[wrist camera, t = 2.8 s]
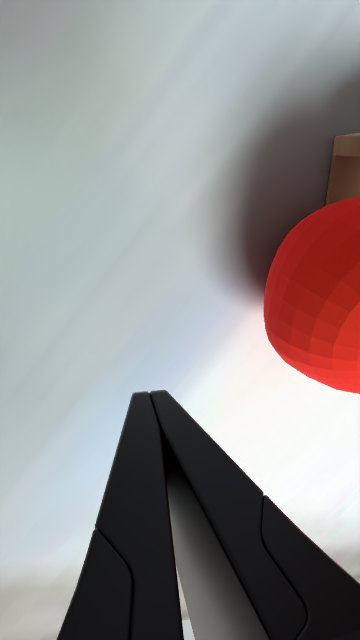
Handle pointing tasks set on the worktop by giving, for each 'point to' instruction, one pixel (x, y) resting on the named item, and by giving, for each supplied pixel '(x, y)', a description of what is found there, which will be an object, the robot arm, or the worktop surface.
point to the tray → (344, 168)
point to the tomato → (318, 296)
